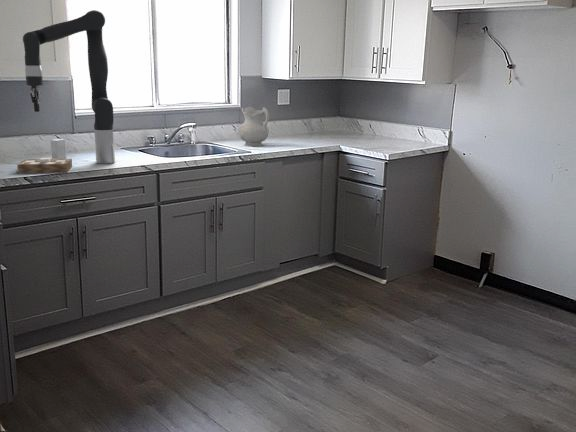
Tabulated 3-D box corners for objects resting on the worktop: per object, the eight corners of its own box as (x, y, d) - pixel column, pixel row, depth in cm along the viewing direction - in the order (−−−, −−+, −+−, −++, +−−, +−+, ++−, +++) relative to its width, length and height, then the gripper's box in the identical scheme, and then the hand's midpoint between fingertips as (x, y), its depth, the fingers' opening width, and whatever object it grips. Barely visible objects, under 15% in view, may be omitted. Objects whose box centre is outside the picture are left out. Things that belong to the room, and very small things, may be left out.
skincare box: (60, 161, 318) (58, 138, 315) (66, 162, 317) (65, 139, 314) (51, 163, 313) (50, 140, 310) (58, 164, 311) (56, 140, 308)
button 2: (65, 164, 298) (65, 160, 298) (64, 165, 294) (64, 161, 294) (57, 164, 297) (56, 160, 297) (55, 165, 294) (55, 161, 293)
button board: (72, 166, 305) (71, 157, 304) (67, 172, 290) (66, 163, 288) (25, 167, 301) (24, 158, 299) (18, 173, 285) (17, 163, 284)
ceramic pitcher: (276, 146, 394) (278, 107, 390) (263, 147, 377) (264, 107, 372) (246, 144, 403) (248, 106, 398) (232, 145, 385) (233, 105, 381)
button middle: (50, 161, 296) (50, 157, 296) (49, 163, 293) (48, 159, 292) (41, 161, 296) (41, 157, 295) (40, 163, 292) (39, 159, 291)
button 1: (35, 164, 295) (35, 160, 295) (33, 166, 292) (33, 161, 291) (26, 164, 295) (26, 160, 294) (24, 166, 291) (24, 161, 290)
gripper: (39, 75, 288) (42, 112, 292) (44, 74, 300) (47, 110, 305) (22, 75, 287) (26, 112, 291) (28, 74, 299) (31, 110, 303)
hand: (37, 111), depth 298 cm, fingers closed
